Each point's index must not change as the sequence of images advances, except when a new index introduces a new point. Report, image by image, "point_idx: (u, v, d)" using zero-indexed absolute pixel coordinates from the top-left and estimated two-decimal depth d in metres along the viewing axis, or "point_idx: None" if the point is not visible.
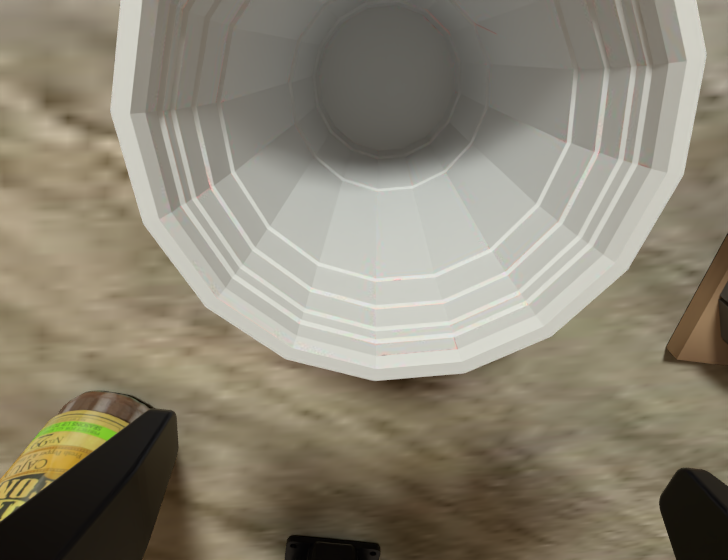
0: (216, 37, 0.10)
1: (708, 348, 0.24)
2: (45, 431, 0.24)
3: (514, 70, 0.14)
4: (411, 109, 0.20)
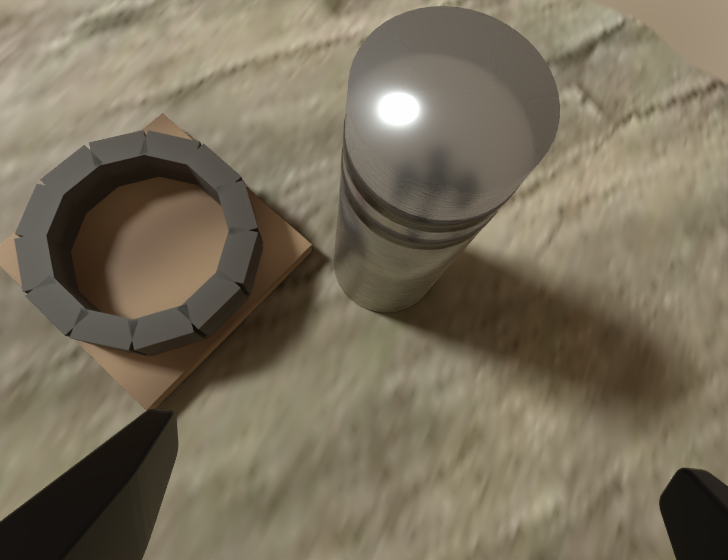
0: None
1: (154, 372, 0.20)
2: None
3: None
4: None
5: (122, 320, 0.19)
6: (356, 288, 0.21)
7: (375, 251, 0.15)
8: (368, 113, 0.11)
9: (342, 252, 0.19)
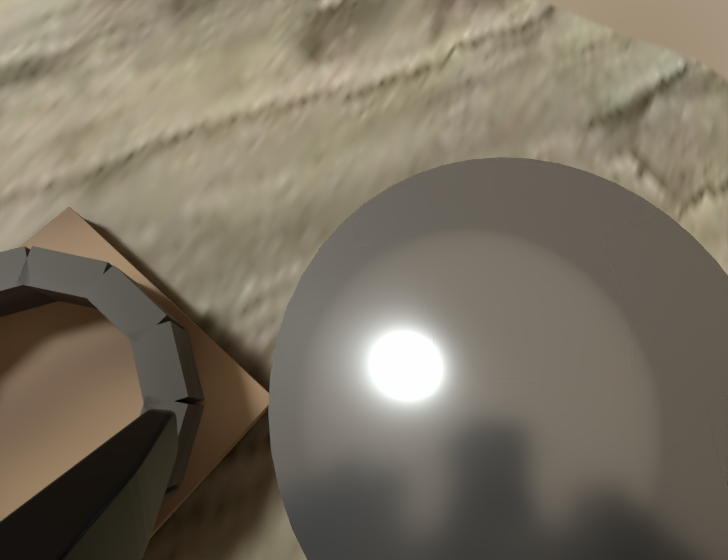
0: None
1: None
2: None
3: None
4: None
5: None
6: None
7: None
8: (319, 470, 0.04)
9: None
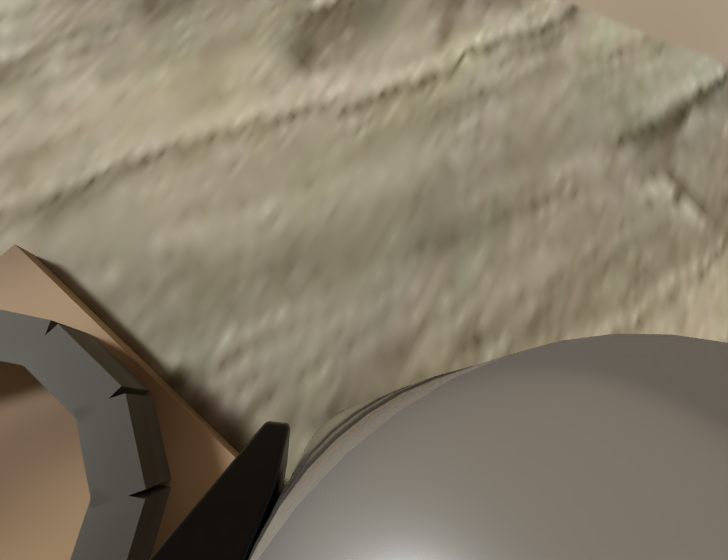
0: None
1: None
2: None
3: None
4: None
5: None
6: None
7: None
8: None
9: None
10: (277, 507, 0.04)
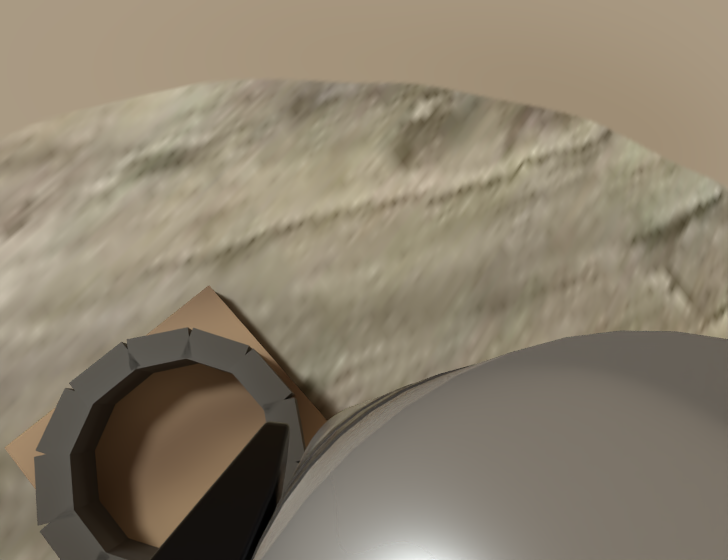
0: None
1: None
2: None
3: None
4: None
5: None
6: None
7: None
8: None
9: None
10: (281, 504, 0.04)
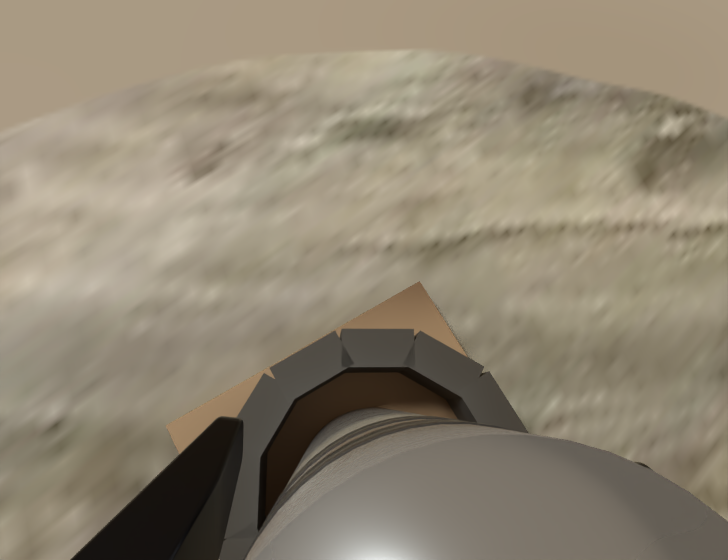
0: None
1: None
2: None
3: None
4: None
5: None
6: None
7: None
8: None
9: None
10: (255, 539, 0.05)
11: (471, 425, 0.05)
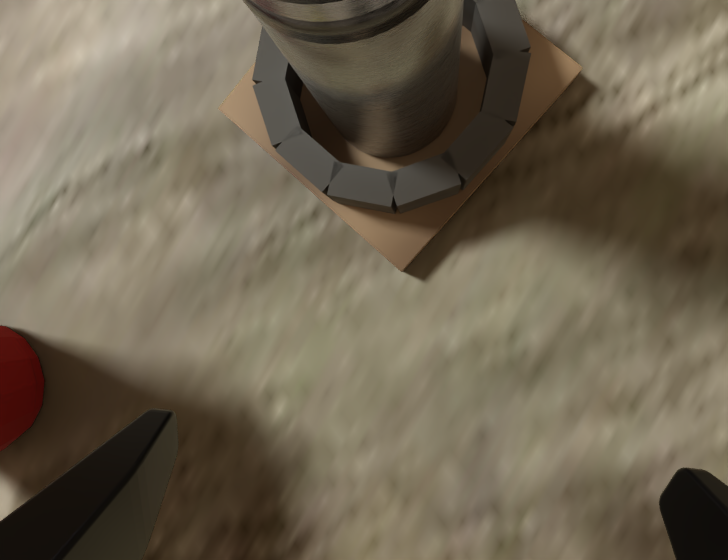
0: None
1: (405, 232, 0.19)
2: None
3: None
4: None
5: (379, 173, 0.17)
6: (358, 136, 0.16)
7: (328, 71, 0.11)
8: None
9: (314, 96, 0.14)
10: None
11: None
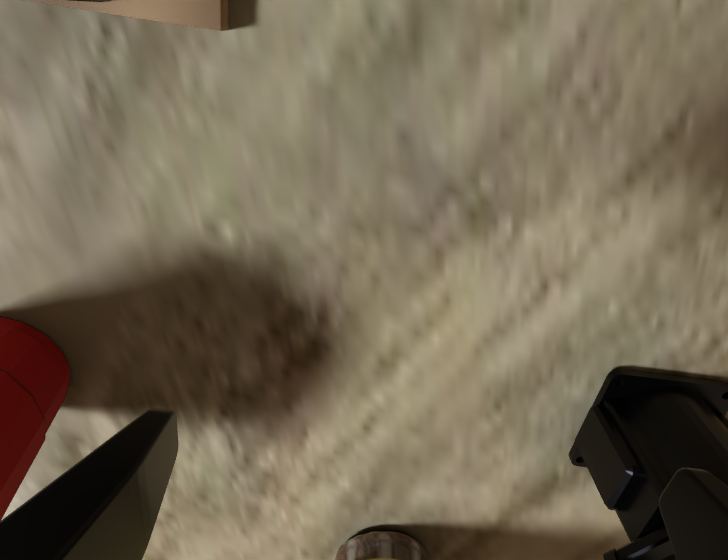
0: None
1: None
2: None
3: None
4: None
5: None
6: None
7: None
8: None
9: None
10: None
11: None
